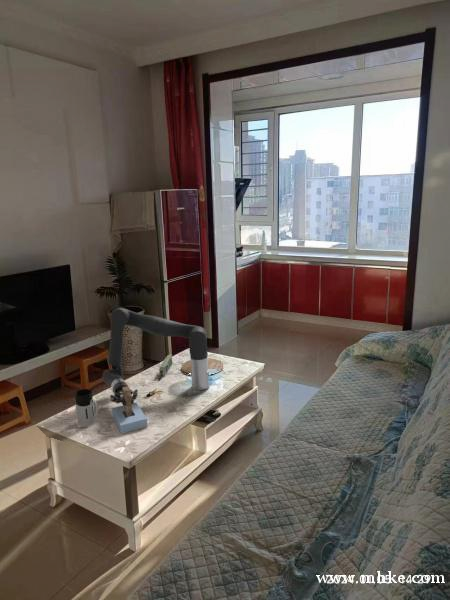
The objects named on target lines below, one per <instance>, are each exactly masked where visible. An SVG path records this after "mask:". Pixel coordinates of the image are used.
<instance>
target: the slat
mask: <svg viewBox="0 0 450 600" xmlns="http://www.w3.org/2000/svg"><path fill="white" fill-rule="evenodd" d="M129 388H130V387H129V385H128V386H126V387H122V389H123V398H124V399H125V401H126V406H125V405H124V410H125V416H126V417H130V416H132V405H131V394H130V390H131V388H130V389H129Z"/></svg>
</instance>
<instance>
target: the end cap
mask: <svg viewBox="0 0 450 600" xmlns="http://www.w3.org/2000/svg"><path fill="white" fill-rule="evenodd" d="M131 405H132V416H130V417H126V416H125V410H124V405H123V404H122V405H120V406H115V407H111V415H112V417H113V420H114V422H115V424H116V426H117V428H118V430H119V432H120V434H125V433H129V432H132V431H135V430H139V429H140V430H141V429H143V428H147V427H148V418H147V417H146V415H145V414H144V412H143V410H142V409H141V408H140V406H139V405H138V402H134V403H133V404H131Z"/></svg>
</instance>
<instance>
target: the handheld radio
mask: <svg viewBox="0 0 450 600" xmlns="http://www.w3.org/2000/svg"><path fill="white" fill-rule="evenodd" d="M172 366H173V356H172V354H167V356H166V357H165V359H164V360H163V361H162V362H161V364H160V365H159V374H160V375H159V377H158V378H157V380H158V381H161V379H162V378H164V377H166V375H167V373H168V372H169V370H170V369H171V367H172Z"/></svg>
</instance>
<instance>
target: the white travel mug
mask: <svg viewBox="0 0 450 600" xmlns="http://www.w3.org/2000/svg"><path fill="white" fill-rule="evenodd" d="M74 398H75V409H76V410H75V411H76V418H77V422H76V425H77V426H78V427H81V428H88V427H90V426H93V425H95V424H96V423H97V420H98V419H97V418H96V416H97V414H98V403H97V401H96V400H95V399H94V398H93V391H92V389H89V388H83V389H79V390H77V391H75V392H74Z"/></svg>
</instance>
